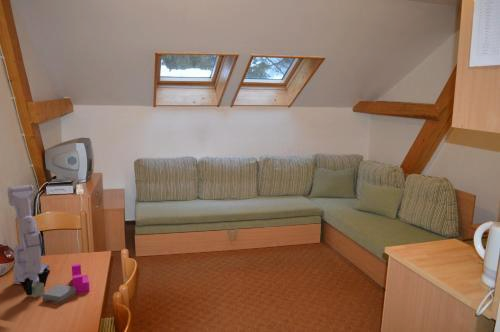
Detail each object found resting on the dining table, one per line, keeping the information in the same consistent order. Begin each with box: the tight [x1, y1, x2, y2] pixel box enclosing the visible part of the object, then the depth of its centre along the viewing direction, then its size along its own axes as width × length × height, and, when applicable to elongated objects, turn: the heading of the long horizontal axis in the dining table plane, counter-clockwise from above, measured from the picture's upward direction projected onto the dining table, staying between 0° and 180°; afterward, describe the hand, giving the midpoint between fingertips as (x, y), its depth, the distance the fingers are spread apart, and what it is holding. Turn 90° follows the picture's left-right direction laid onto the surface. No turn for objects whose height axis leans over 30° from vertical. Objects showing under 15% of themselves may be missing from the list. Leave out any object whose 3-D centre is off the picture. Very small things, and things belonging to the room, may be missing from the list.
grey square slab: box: [42, 292, 77, 306], centre depth 167 cm, size 9×9×2 cm
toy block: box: [71, 263, 90, 295], centre depth 178 cm, size 15×6×8 cm, turn 26°
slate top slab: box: [41, 284, 76, 301], centre depth 167 cm, size 9×9×2 cm
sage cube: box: [27, 281, 46, 298], centre depth 170 cm, size 4×4×4 cm
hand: (35, 290), depth 170 cm, fingers open, 7 cm apart
